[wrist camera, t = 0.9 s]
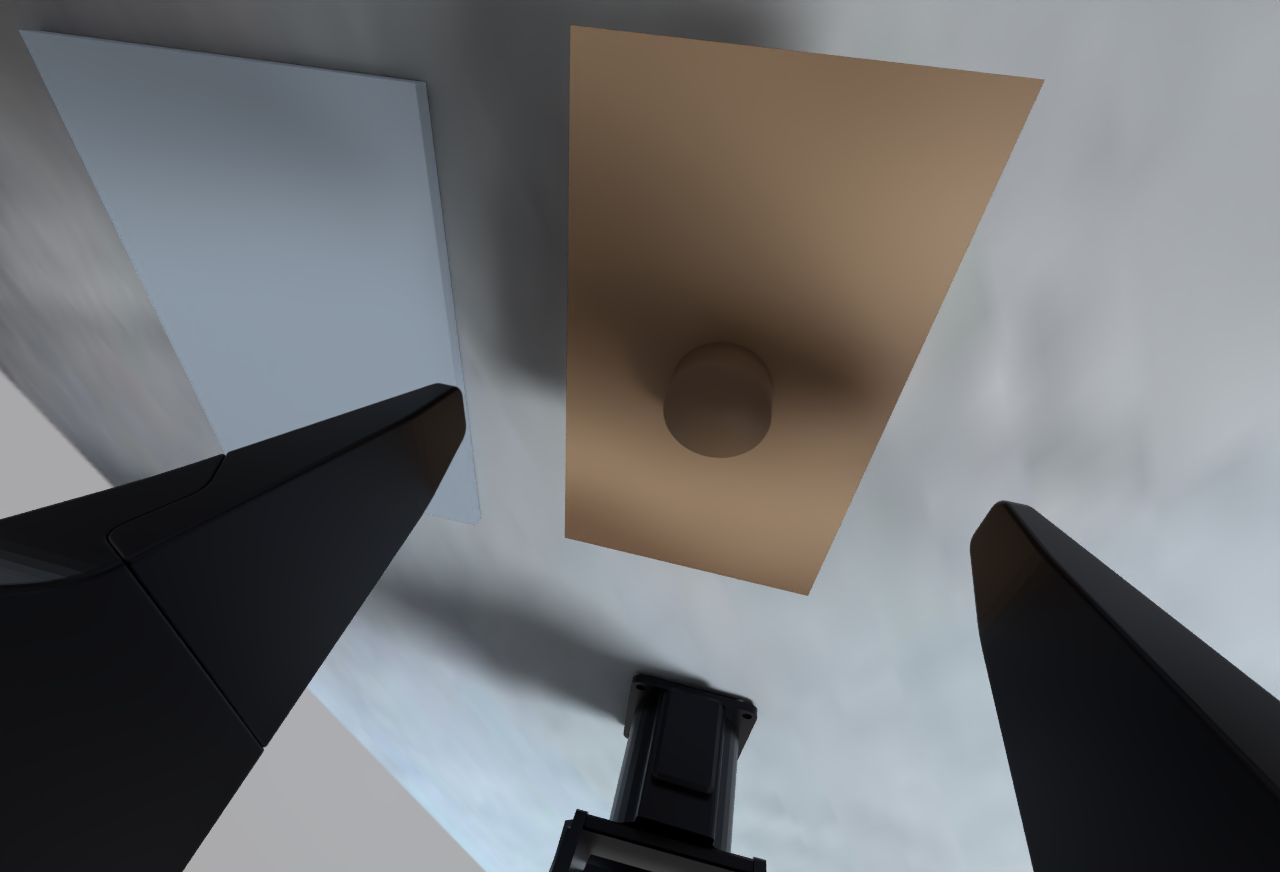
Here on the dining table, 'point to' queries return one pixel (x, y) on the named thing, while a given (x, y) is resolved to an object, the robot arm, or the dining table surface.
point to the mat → (273, 229)
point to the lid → (755, 283)
